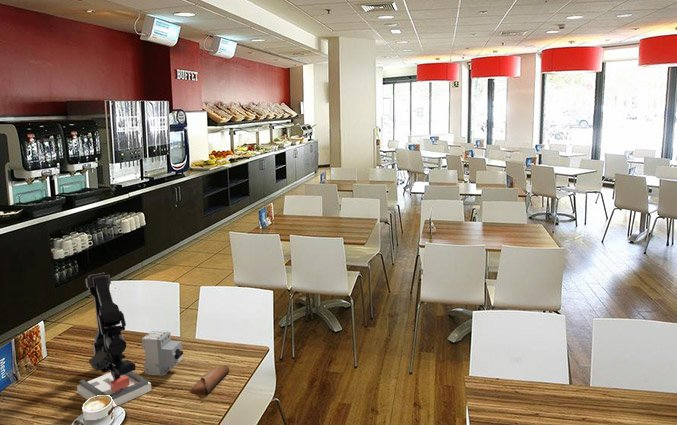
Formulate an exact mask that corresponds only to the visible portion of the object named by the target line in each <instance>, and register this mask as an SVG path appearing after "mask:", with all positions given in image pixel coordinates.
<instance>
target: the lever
mask: <svg viewBox="0 0 677 425" xmlns="http://www.w3.org/2000/svg"><path fill="white" fill-rule="evenodd" d="M128 385H130V382H129V377H128V376H126V375H125V376H123V377H120V378H118V379H116V380H113V381H111V382H110V386H111V390H112V391H117V390H119V391H120V390H122V389H123V388H124V387H126V386H128Z"/></svg>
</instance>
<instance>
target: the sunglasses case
mask: <svg viewBox="0 0 677 425" xmlns="http://www.w3.org/2000/svg"><path fill="white" fill-rule="evenodd" d="M229 372H230V367H229V366H228V365H227V364H222V365H220V366H217V367H215V368H213V369H210V370H208V371H207V372H206V373H205V374H203V375H202V376H201V377H200V379H199V380H198V381H197V382H196V383H195V384H194V385H193V386H192V387H191V388H190V389H189V391H188V393H190V394H195V395H196V394H197V395H202V396H203V395H204V396H208V395H209V394H210V393H211V392H212V391H213V389H214V388H215V387H216V385H217V384H218V383H220V382H221V381H222V379H223V378H224V377H225V376H226V375H227V374H228V373H229Z"/></svg>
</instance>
